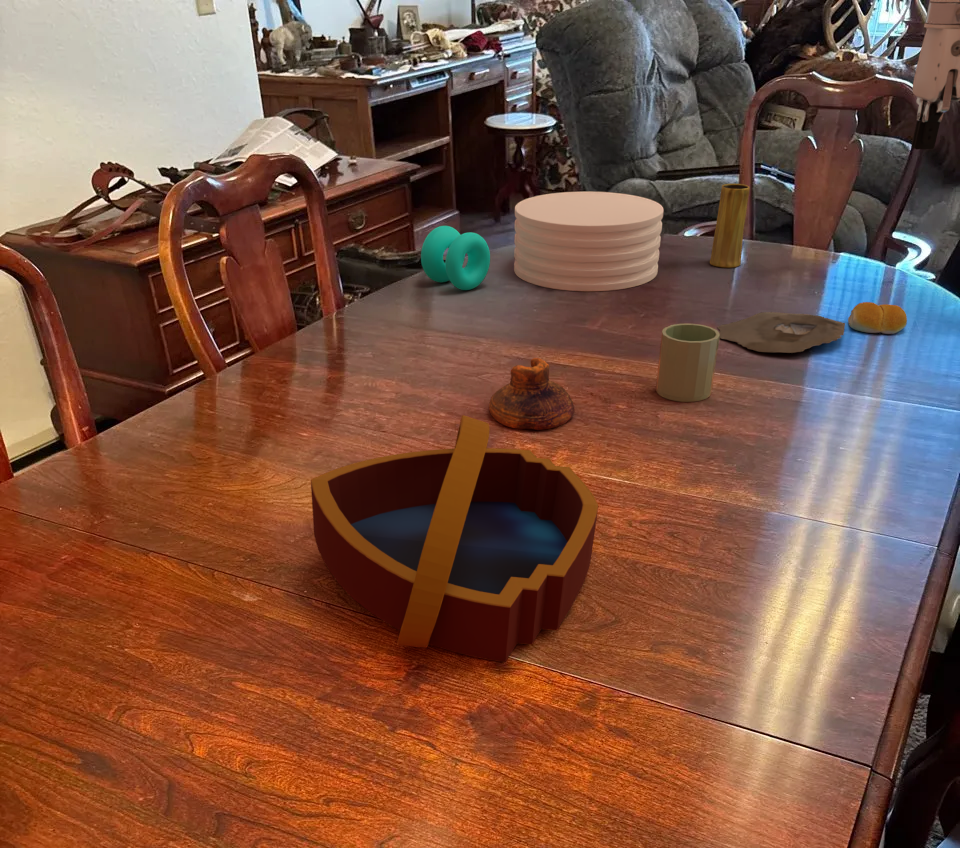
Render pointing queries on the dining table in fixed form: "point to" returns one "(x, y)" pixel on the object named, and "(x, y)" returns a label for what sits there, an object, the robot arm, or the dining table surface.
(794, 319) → the fabric swatch
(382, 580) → the decorative basket
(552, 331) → the dining table surface
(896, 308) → the bread roll
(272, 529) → the dining table surface
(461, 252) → the donuts
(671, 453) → the dining table surface
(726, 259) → the vase
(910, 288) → the dining table surface
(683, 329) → the teacup
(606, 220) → the plate stack
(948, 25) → the robot arm
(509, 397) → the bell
